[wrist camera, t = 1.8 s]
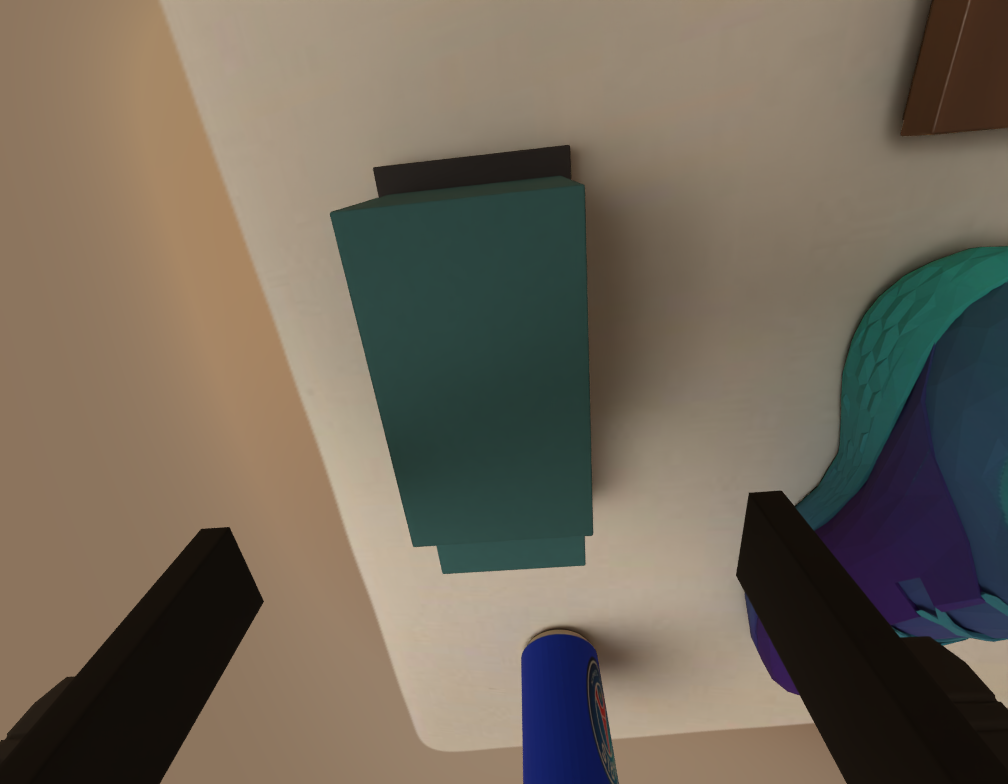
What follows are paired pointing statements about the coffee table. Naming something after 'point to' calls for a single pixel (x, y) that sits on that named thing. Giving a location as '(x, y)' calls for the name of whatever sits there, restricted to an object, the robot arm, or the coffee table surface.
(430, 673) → the coffee table surface
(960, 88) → the brown wooden board
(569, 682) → the beverage can
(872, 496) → the sneaker
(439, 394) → the teal stepped block
